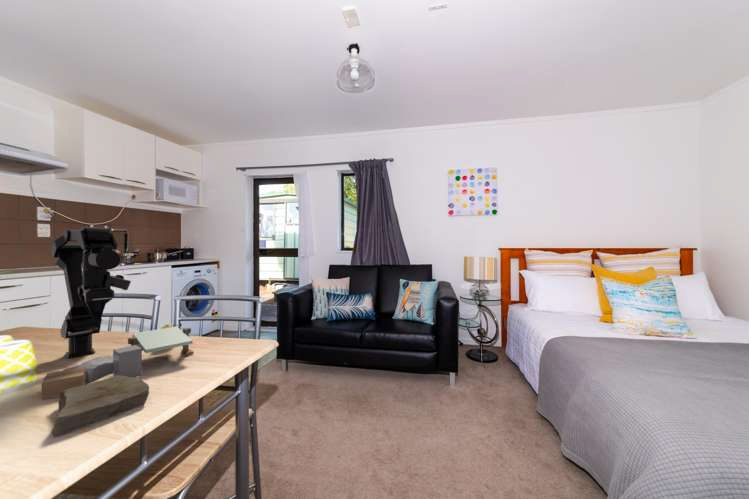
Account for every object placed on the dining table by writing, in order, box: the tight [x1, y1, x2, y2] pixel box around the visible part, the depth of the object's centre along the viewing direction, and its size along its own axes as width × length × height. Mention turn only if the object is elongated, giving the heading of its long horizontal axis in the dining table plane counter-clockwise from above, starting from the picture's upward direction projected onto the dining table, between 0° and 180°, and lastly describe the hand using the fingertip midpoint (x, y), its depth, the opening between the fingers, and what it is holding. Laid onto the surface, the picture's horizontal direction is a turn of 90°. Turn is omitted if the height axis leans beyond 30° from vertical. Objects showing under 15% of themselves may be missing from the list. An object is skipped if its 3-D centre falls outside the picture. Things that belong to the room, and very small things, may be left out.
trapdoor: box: [132, 326, 194, 354], centre depth 97 cm, size 15×12×5 cm
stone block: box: [62, 354, 113, 383], centre depth 87 cm, size 12×5×10 cm
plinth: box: [41, 367, 87, 401], centre depth 76 cm, size 7×7×4 cm
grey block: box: [112, 345, 143, 378], centre depth 85 cm, size 5×5×8 cm
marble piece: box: [51, 375, 150, 437], centre depth 68 cm, size 17×15×4 cm
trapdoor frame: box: [127, 327, 194, 357], centre depth 98 cm, size 5×17×8 cm, turn 139°
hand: (95, 319), depth 96 cm, fingers open, 9 cm apart
